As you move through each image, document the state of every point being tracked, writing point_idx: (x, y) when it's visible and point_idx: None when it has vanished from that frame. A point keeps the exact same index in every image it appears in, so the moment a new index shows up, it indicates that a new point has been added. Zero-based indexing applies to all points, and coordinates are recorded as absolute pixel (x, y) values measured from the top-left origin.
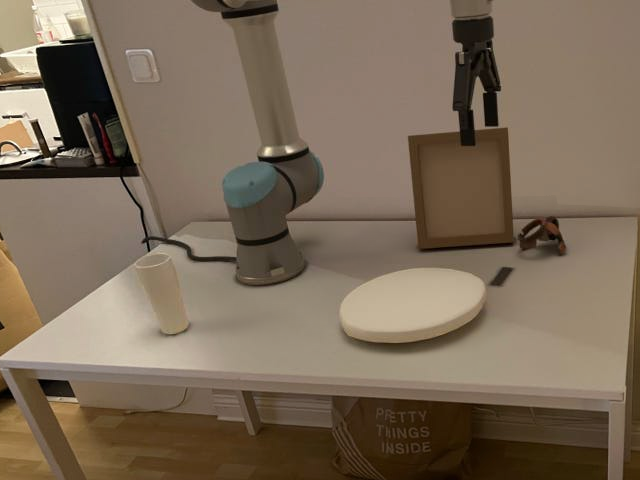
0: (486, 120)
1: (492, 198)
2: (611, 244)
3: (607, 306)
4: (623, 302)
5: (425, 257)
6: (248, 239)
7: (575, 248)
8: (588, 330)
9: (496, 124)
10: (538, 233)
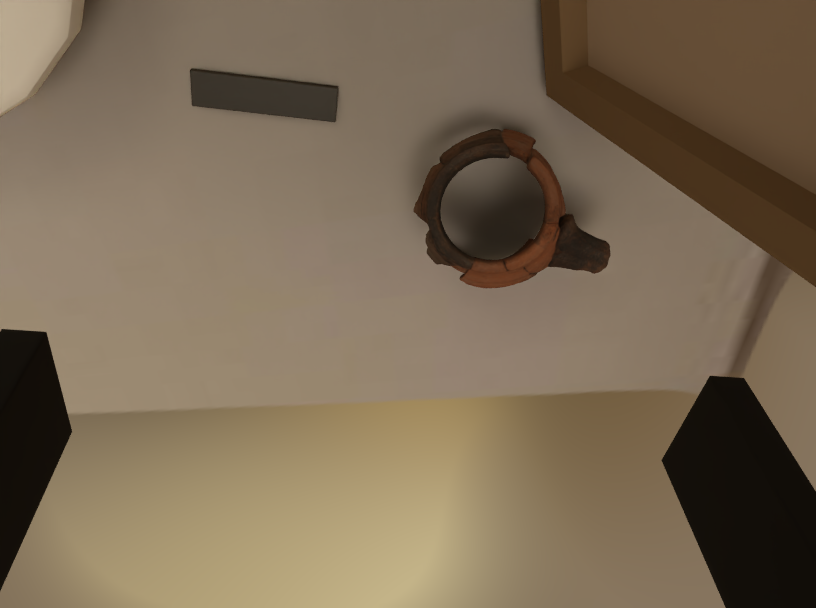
0: (724, 437)
1: (679, 60)
2: (527, 362)
3: (148, 384)
4: (180, 409)
5: None
6: None
7: None
8: None
9: (671, 471)
10: (435, 244)
